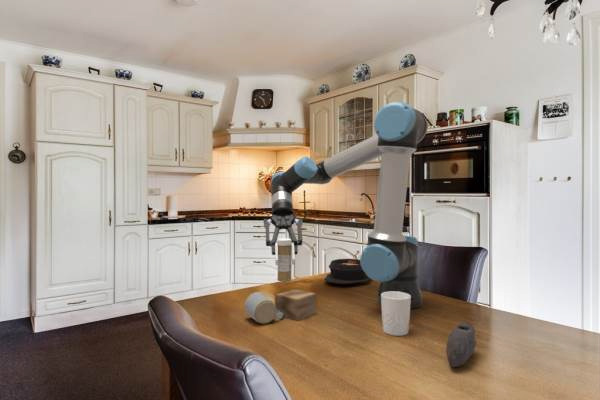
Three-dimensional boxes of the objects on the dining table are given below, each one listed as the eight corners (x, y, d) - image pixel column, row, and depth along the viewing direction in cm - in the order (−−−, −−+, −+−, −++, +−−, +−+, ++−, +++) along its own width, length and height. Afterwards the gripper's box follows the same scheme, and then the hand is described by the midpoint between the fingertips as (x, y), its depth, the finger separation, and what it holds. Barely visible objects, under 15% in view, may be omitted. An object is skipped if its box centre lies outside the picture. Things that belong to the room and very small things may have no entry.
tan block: (316, 313, 120) (316, 293, 120) (297, 320, 113) (297, 299, 113) (294, 307, 126) (294, 288, 126) (275, 314, 119) (275, 294, 119)
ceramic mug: (254, 327, 108) (255, 299, 108) (244, 318, 115) (244, 293, 115) (288, 321, 113) (288, 295, 113) (275, 313, 120) (276, 289, 120)
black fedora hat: (345, 273, 178) (345, 255, 178) (382, 279, 167) (382, 260, 166) (313, 283, 159) (313, 263, 159) (352, 291, 147) (352, 269, 147)
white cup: (411, 328, 107) (411, 292, 107) (409, 338, 100) (410, 300, 100) (382, 325, 110) (382, 290, 110) (378, 334, 103) (379, 297, 102)
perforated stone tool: (463, 376, 80) (463, 343, 80) (437, 369, 83) (437, 337, 83) (479, 351, 92) (479, 323, 92) (456, 346, 95) (456, 318, 95)
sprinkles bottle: (282, 278, 127) (282, 237, 126) (294, 280, 124) (294, 238, 124) (274, 281, 123) (274, 239, 122) (285, 283, 120) (286, 240, 120)
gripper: (306, 213, 139) (312, 268, 123) (257, 214, 138) (257, 269, 122) (307, 199, 134) (314, 254, 118) (257, 200, 132) (256, 255, 116)
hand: (285, 262), depth 120 cm, fingers closed on sprinkles bottle, 4 cm apart
